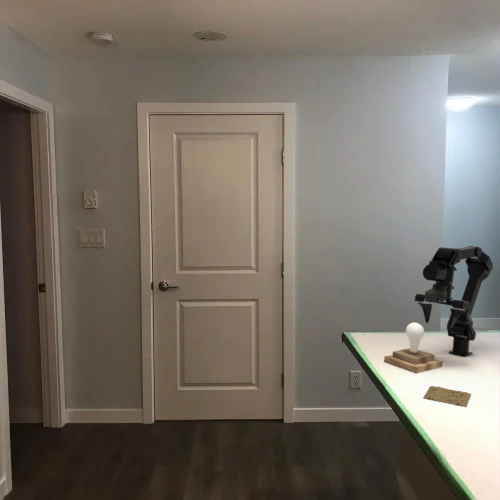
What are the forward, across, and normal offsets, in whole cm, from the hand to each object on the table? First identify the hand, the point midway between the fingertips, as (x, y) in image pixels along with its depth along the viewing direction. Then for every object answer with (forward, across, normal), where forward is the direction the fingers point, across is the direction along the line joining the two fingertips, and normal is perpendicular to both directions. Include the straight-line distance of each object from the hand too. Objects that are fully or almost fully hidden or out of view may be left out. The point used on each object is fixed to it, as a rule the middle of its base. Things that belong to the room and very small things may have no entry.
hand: (438, 325), depth 181 cm
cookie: (+18, +20, -26) cm, 37 cm away
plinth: (+15, -3, -8) cm, 17 cm away
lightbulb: (+11, -3, -8) cm, 14 cm away
